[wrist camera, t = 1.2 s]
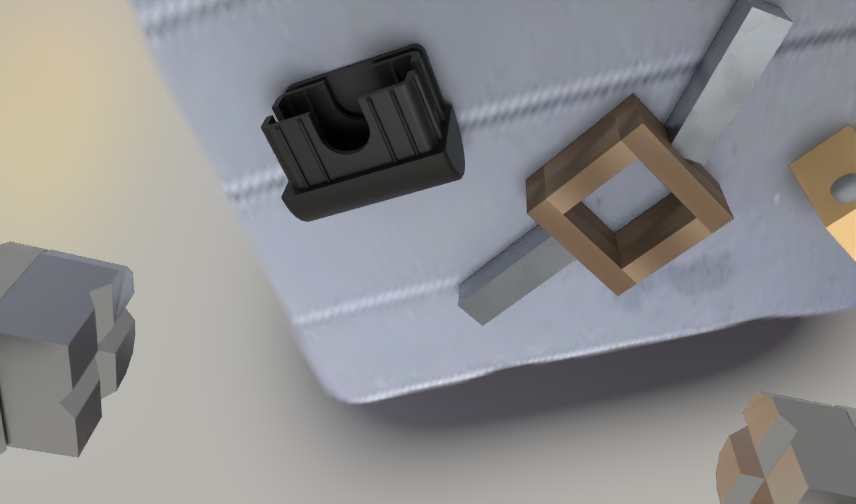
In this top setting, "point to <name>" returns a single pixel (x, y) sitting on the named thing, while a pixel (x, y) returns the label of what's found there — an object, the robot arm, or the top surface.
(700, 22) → the top surface
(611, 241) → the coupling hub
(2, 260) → the robot arm
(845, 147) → the block
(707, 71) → the steel shafts
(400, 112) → the end cap
